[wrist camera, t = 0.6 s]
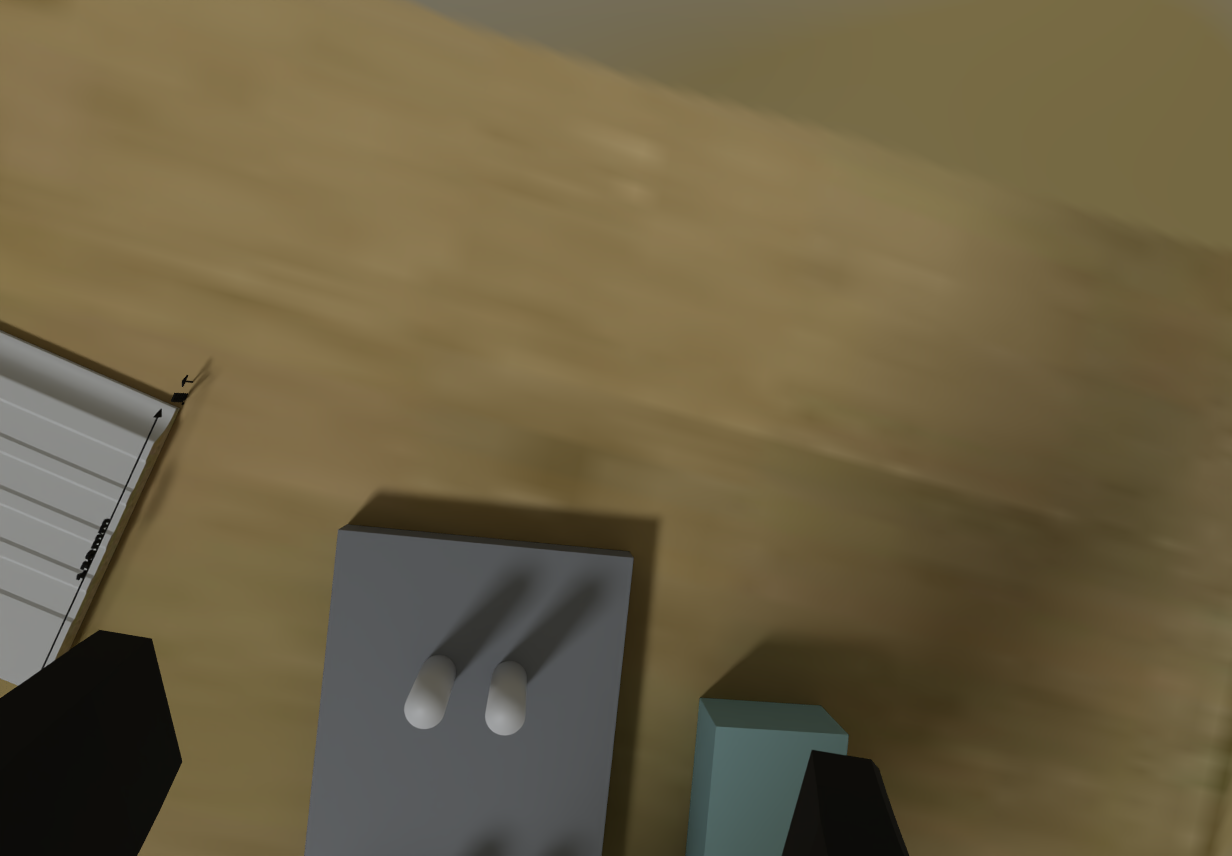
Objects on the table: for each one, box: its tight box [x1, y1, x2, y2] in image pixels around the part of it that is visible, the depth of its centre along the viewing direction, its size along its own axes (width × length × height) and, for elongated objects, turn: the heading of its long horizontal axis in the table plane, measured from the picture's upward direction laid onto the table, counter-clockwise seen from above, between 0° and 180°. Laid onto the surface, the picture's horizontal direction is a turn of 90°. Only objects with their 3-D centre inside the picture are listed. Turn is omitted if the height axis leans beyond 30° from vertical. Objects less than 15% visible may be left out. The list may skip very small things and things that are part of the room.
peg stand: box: [304, 524, 634, 856], centre depth 32 cm, size 18×10×6 cm, turn 174°
